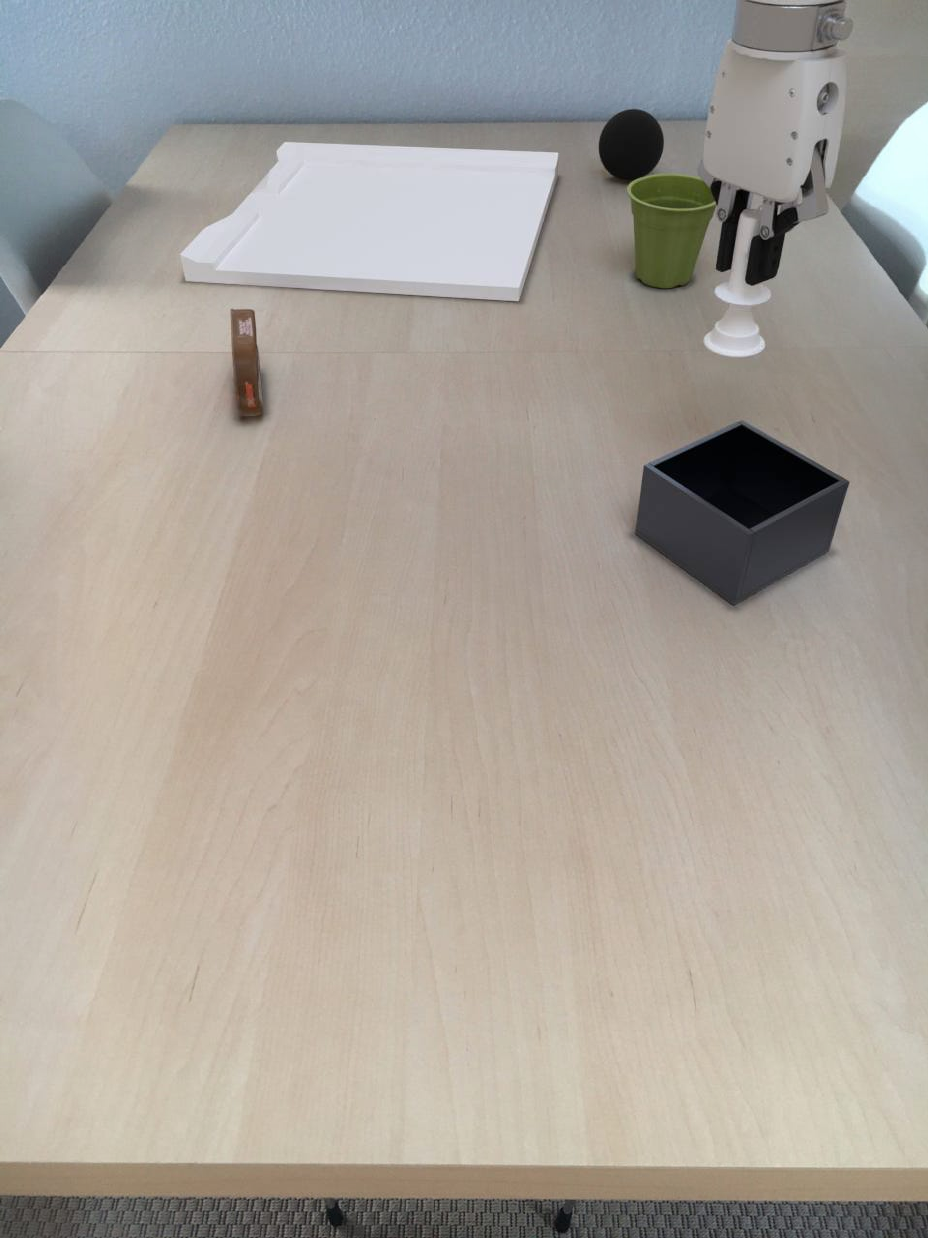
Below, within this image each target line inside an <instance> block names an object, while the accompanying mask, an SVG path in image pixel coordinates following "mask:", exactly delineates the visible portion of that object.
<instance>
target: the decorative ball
mask: <svg viewBox="0 0 928 1238" xmlns="http://www.w3.org/2000/svg"><path fill="white" fill-rule="evenodd" d="M664 147H665V137H664V131H663V129H662V126H661V124H660V123H659V122H658V120H657V119H656V118H655V117H654V116H653V115H652V114H651V113H649V112H648V111H646V110H642V109H638V108H630V109H629V108H628V109H624V110H622V111H619V112H617V113H616V114H614V115H613V116H612V117H610V119H609V120H607V121H606V124H605V125H604V126H603V128H602V130H601V133H600V135H599V140H598V154H599V159H600V162H601V164H602V166H603V167H604V169H605V170H606V172H608V174H610V175H611V176H613V177H615V178H616V179H619V180H621V181H634V180H636V179H638V178H641V177H645V176H648V175H650V173H652V171H653V170H654V169H655V168H656V167H657V166H658V164H659V162H660V161H661V158H662V156H663V153H664Z"/></svg>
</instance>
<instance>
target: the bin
mask: <svg viewBox="0 0 928 1238" xmlns="http://www.w3.org/2000/svg"><path fill="white" fill-rule="evenodd" d="M849 485H850V480H848V479H846V478H845V477H843V476H841V475H839V474H837V473H836V472H834V471H832V470H830V469H829V468H827V467H825V466H824V465H822V464H820V463H818V462H817V461H815V460H813V459H811V458H810V457H808V456H806V455H804V454H803V453H800V452H799V451H797V450H796V449H794V448H792V447H790V446H789V445H787V444H785V443H783V442H781V441H780V440H778V439H777V438H774V437H773V436H771V435H770V434H767V433H765V432H764V431H762V430H760V429H758V428H757V427H755V426H754V425H752V424H750V423H748V422H746V421H744V420H743V419H741V420H738V421H736V422H734V423H731V424H730V425H728V426H725V427H724V428H721V429H719V430H717V431H715V432H712V433H710V434H708V435H706V436H703V437H702V438H700V439H698V440H695V441H693V442H691V443H689V444H687V445H685V446H682V447H679V448H678V449H676V450H673V451H671V452H670V453H667V454H664V455H662V456H661V457H659V458H657V459H654V460H652V461H650V462H648V463H646V464H644V465H643V468H642V477H641V484H640V493H639V500H638V507H637V508H638V509H637V515H636V524H635V532H634V535H635V536H637V537H638V538H640V539H641V540H642V541H644V542H645V543H646V544H648V545H649V546H650V547H652V548H653V549H654V550H656V551H658V552H659V553H660V554H661V555H663V556H664V557H666V558H667V559H669V560H670V561H671V562H672V563H674V564H675V565H676V566H678V567H679V568H681V569H682V570H684V571H685V572H686V573H687V574H689V575H690V576H691V577H694V578H695V579H696V580H697V581H699V582H700V583H702V584H703V585H704V586H706V587H707V588H708V589H710V590H711V591H712V592H714V593H715V594H717V596H720V598H722V599H724V600H725V601H726V602H727V603H729V604H730V605H732V606H736V605H738V604H739V603H741V602H743V601H745V600H746V599H748V598H750V597H752V596H753V595H755V594H756V593H759V592H760V591H762V590H763V589H766V588H767V587H768V586H771V585H772V584H774V583H776V582H778V581H779V580H781V579H783V578H784V577H786V576H788V575H790V574H791V573H794V572H795V571H797V570H799V569H801V568H802V567H804V566H806V565H807V564H809V563H810V562H812V561H814V560H816V559H817V558H820V557H821V556H823V555H825V554H826V553H828V552H829V551H830V550H831V549H830V548H831V545H832V542H833V539H834V535H835V532H836V530H837V529H836V528H837V525H838V522H839V518H840V515H841V512H842V508H843V505H844V502H845V499H846V497H847V492H848V489H849Z"/></svg>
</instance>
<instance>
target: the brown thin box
mask: <svg viewBox="0 0 928 1238" xmlns="http://www.w3.org/2000/svg"><path fill="white" fill-rule="evenodd" d="M230 337H231V339H230V340H231V341H230V343H231V345H230V346H231V356H232V357H231V358H232V369H233V379H234V389H235V396H236V405H237V412H238V417H239V418H242V417H252V416H253V417H254V416H261V415H263V414H264V402H263V401H264V400H263V399H264V398H263V397H264V396H263V384H262V374H261V363H260V354H259V353H260V352H259V347H258V338H257V337H258V336H257V323H256V311H255V310H254V309H251V308H241V309H239V308H238V309H234V308H230Z"/></svg>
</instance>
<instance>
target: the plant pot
mask: <svg viewBox="0 0 928 1238" xmlns="http://www.w3.org/2000/svg"><path fill="white" fill-rule="evenodd" d="M626 193H627V196H628V197H629V199H630V206H631V214H632V218H633V238H634V264H635V276H636V277H635V278H637V279H639V280H641V282H642V283H643V284H645V285H647V286H650V287H654V288H660V289H673V288H675V287H676V286H685V285H686V284H688V283H689V282H690V281H691V279H692V276H693V273H694V270H695V268H696V264H697V261H698V258H699V255H700V251H701V250H702V246H703V243H704V240H705V236H706V233H707V230H708V228H709V225H710V221H711V220H712V219H713V217H714V214H715V211H716V209H717V207H718V206H717V204H716V202H715V200H714V197H713V195H712V193H711V188H709V187H708V186H707V185H706V183H705V182H704V181H703V180H702V179H701V177H700V176H694V175H689V174H683V173H658V174H657V173H656V174H648V175H646V176H644V177H641V178H638V179H636V180H631V181H630V182H629V184H628V185H627V187H626Z"/></svg>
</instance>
